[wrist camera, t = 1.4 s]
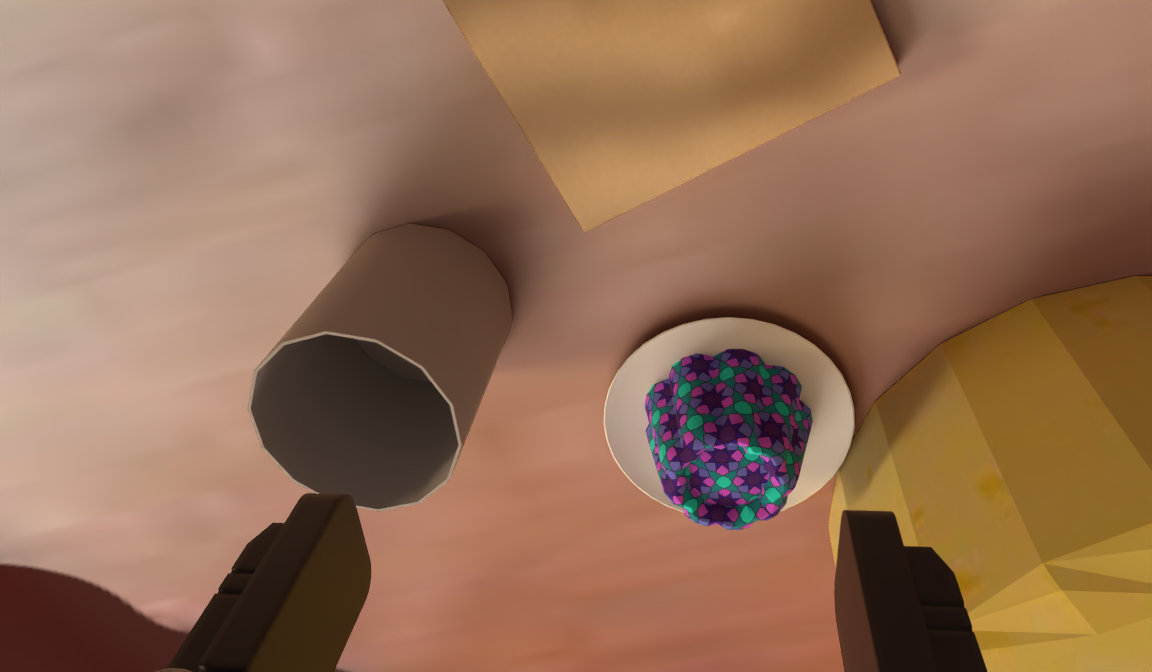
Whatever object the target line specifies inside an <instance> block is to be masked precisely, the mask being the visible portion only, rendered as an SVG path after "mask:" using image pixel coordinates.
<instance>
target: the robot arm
mask: <svg viewBox="0 0 1152 672" xmlns="http://www.w3.org/2000/svg"><path fill="white" fill-rule="evenodd" d="M370 582H371V562H370V557H369V554H368V550H367V546H366V542H365V538H364V535H363V531H362V527H361V523H360V520H359V516H358V512H357V508H356V504H355V501H354V499H353V498H352V497H351V496H350V495H348V494H316V493H307V494H304V495H303V496H302V497H301V498H300V499H299V501H298V502H297V504H296V505H295V507H294V509H293V510H292V512H291V513H290V515H289V517H288V518H287V520H286V522H285V523H272V524H271V525H270V526H268V527H267V528H266V529H265V530H264V531H262V532H261V533H260V534H259V535H258V536H256V537H255V538H254V539H253V540H252V541H250V542H249V543H248V544H247V545H246V547H245V549H244V550H243V552H242V553H241V555H240V556H239V558H238V559H237V561H236V562H235V564H234V565H233V567H232V572H231V574H230V573H228V575H227V576H226V578H225V579H224V581H223V582H222V584H221V585H220V587H219V588H218V589H219V592H218V594H215V595H214V596H213V598H212V599H211V601H210V602H209V604H208V605H207V607H206V608H205V610H204V612H203V613H202V615H201V616H200V618H199V619H198V621H197V622H196V624H195V625H194V627H193V628H192V630H191V632H190V633H189V635H188V636H187V638H186V639H185V641H184V643H183V644H182V645H181V647H180V648H179V650H178V652H177V653H176V655H175V656H174V658H173V659H172V661H171V663H170V664H169V665H168V667H167V668H166V669H163V670H159V671H156V672H334V670H335V668H336V665H337V663H338V661H339V659H340V656H341V654H342V652H343V650H344V647H345V645H346V643H347V641H348V638H349V636H350V634H351V632H352V630H353V627H354V625H355V623H356V621H357V618H358V616H359V614H360V612H361V609H362V607H363V605H364V603H365V600H366V598H367V595H368V592H369V588H370ZM834 595H835V614H836V622H837V629H838V635H839V641H840V647H841V653H842V659H843V665H844V671H845V672H988V671H987V668H986V665H985V663H984V660H983V657H982V654H981V651H980V648H979V645H978V642H977V639H976V636H975V633H974V632H973V631H972V624H971V621H970V618H969V615H968V612H967V609H966V608H965V607H964V600H963V597H962V594H961V591H960V588H959V585H958V582H957V579H956V576H955V573H954V572H953V571H952V570H951V569H950V568H949V566H948V565H947V564H946V563H945V562H944V561H943V560H942V559H941V557H940V556H939V555H938V554H937V553H936V552H935V551H934V550H933V548H932V547H918V546H904V544H903V541H902V537H901V534H900V530H899V526H898V523H897V519H896V516H895V514H894V513H893V512H892V511H862V510H843V512H842V516H841V523H840V534H839V544H838V554H837V564H836V574H835V590H834Z"/></svg>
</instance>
